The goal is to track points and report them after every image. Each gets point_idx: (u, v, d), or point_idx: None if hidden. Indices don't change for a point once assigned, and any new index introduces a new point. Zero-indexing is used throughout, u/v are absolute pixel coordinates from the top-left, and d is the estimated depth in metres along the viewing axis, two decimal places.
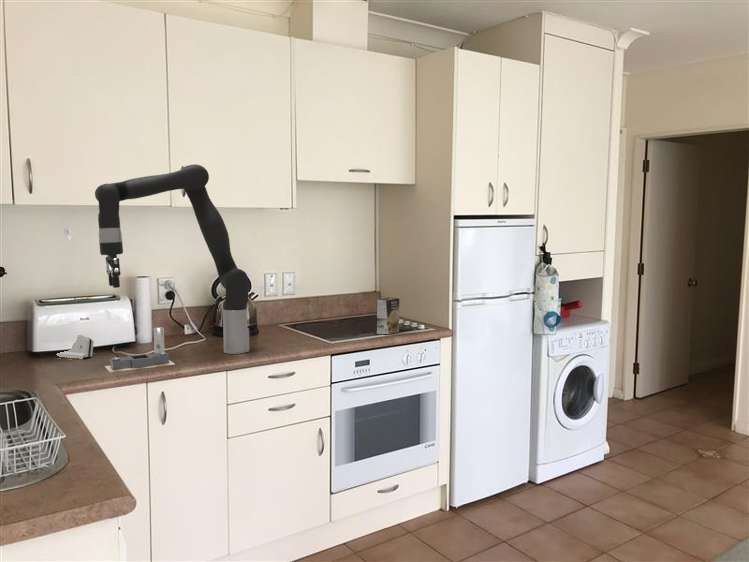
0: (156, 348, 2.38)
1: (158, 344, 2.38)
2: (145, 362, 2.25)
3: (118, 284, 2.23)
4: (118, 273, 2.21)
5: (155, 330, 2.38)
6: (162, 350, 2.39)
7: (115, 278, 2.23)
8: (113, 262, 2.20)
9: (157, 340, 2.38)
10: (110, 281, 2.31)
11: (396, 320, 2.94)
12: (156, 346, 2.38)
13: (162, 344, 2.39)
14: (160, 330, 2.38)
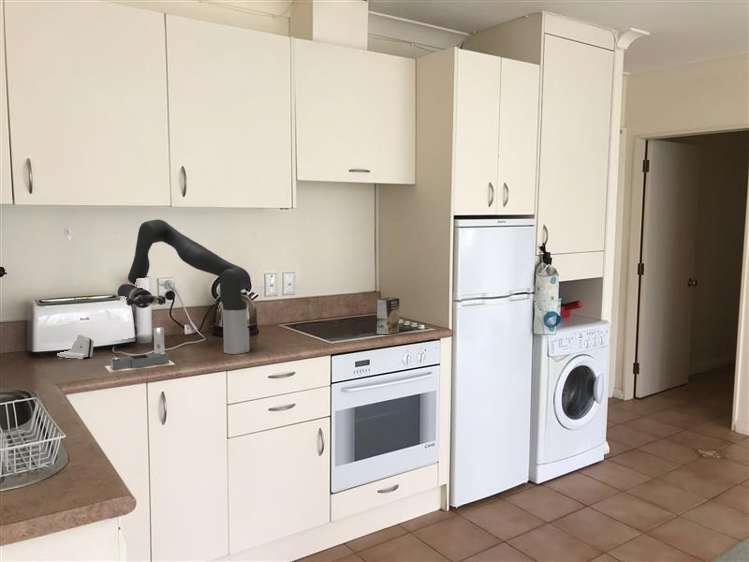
0: (156, 348, 2.38)
1: (158, 344, 2.38)
2: (145, 362, 2.25)
3: (135, 301, 2.45)
4: (128, 300, 2.48)
5: (155, 330, 2.38)
6: (162, 350, 2.39)
7: (134, 303, 2.47)
8: (126, 302, 2.51)
9: (157, 340, 2.38)
10: (159, 303, 2.51)
11: (396, 320, 2.94)
12: (156, 346, 2.38)
13: (162, 344, 2.39)
14: (160, 330, 2.38)
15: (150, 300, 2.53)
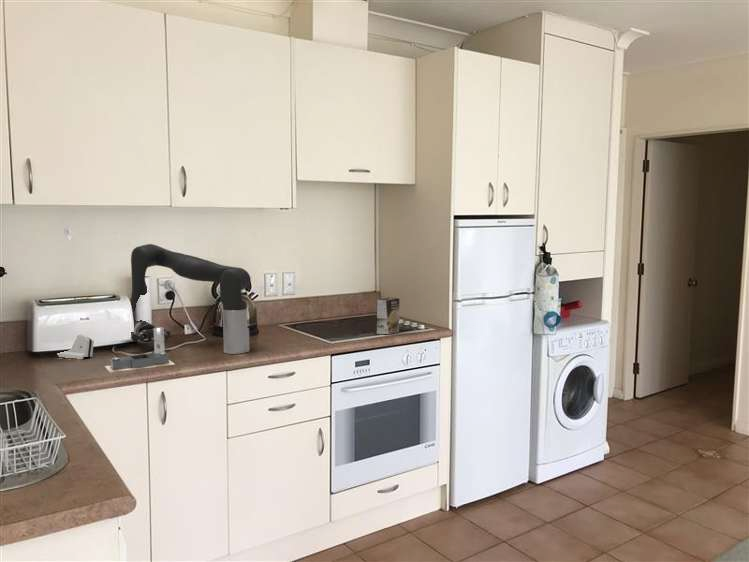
0: (156, 348, 2.38)
1: (158, 344, 2.38)
2: (145, 362, 2.25)
3: (139, 337, 2.43)
4: (132, 336, 2.46)
5: (155, 330, 2.38)
6: (162, 350, 2.39)
7: (138, 338, 2.45)
8: (131, 337, 2.49)
9: (157, 340, 2.38)
10: (164, 338, 2.49)
11: (396, 320, 2.94)
12: (156, 346, 2.38)
13: (162, 344, 2.39)
14: (160, 330, 2.38)
15: None
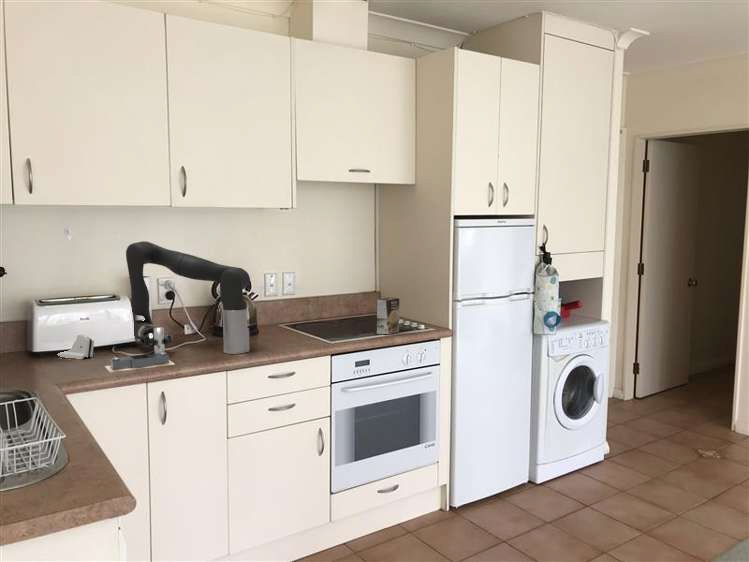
0: (156, 348, 2.38)
1: (158, 344, 2.38)
2: (145, 362, 2.25)
3: (151, 341, 2.37)
4: (144, 339, 2.39)
5: (155, 330, 2.38)
6: (162, 350, 2.39)
7: (150, 342, 2.38)
8: (138, 342, 2.41)
9: (157, 340, 2.38)
10: (164, 342, 2.40)
11: (396, 320, 2.94)
12: (156, 346, 2.38)
13: (162, 344, 2.39)
14: (160, 330, 2.38)
15: None
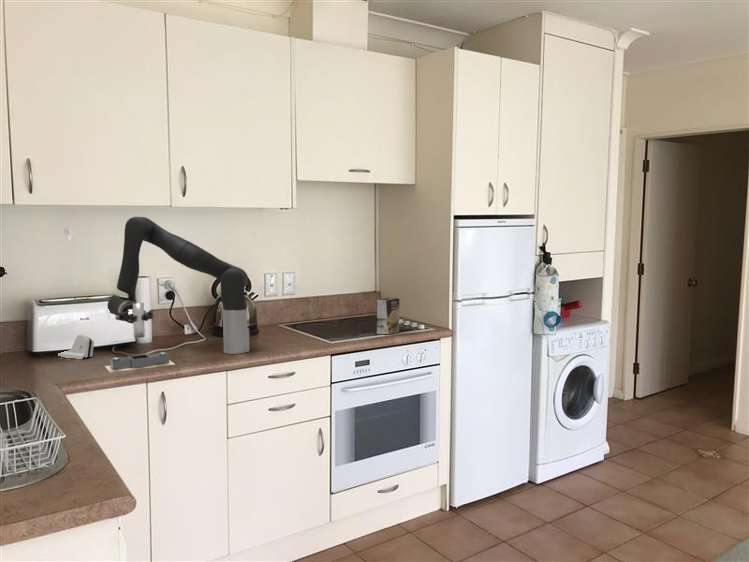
0: (135, 324, 2.26)
1: (137, 320, 2.25)
2: (145, 362, 2.25)
3: (130, 317, 2.24)
4: (123, 315, 2.26)
5: (134, 305, 2.25)
6: (142, 327, 2.26)
7: (129, 318, 2.26)
8: (117, 318, 2.29)
9: (136, 316, 2.25)
10: (144, 319, 2.27)
11: (396, 320, 2.94)
12: (135, 322, 2.26)
13: (142, 320, 2.26)
14: (139, 305, 2.25)
15: None
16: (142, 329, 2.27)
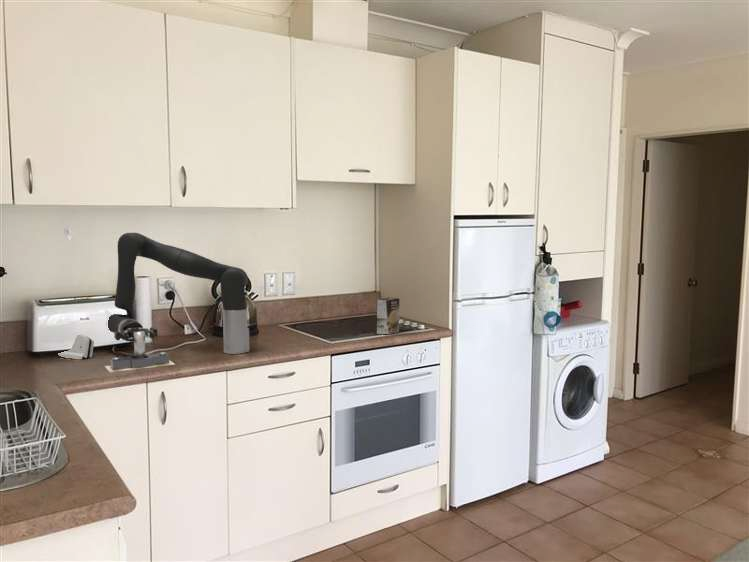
0: (136, 353, 2.26)
1: (138, 349, 2.26)
2: (145, 362, 2.25)
3: (123, 336, 2.23)
4: (116, 334, 2.26)
5: (135, 334, 2.25)
6: (143, 355, 2.27)
7: (122, 337, 2.25)
8: (114, 336, 2.29)
9: (137, 345, 2.25)
10: (150, 337, 2.29)
11: (396, 320, 2.94)
12: (136, 351, 2.26)
13: (143, 349, 2.26)
14: (140, 334, 2.25)
15: None
16: (143, 357, 2.27)
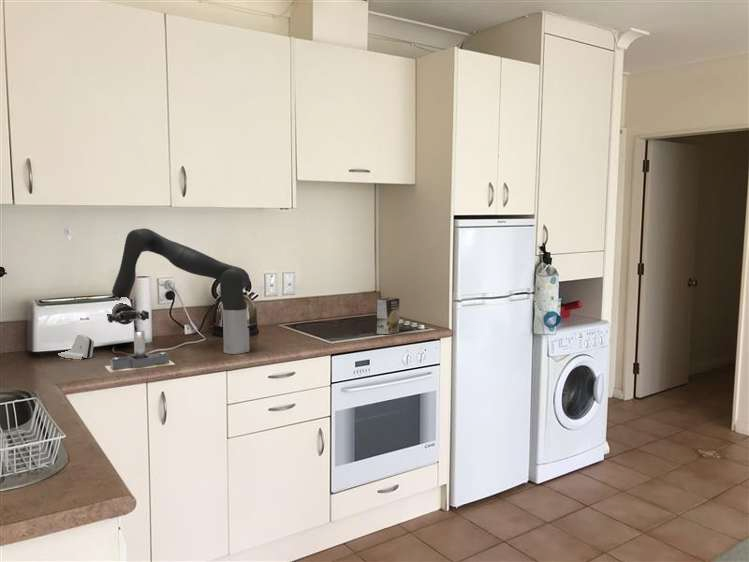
0: (136, 353, 2.26)
1: (138, 349, 2.26)
2: (145, 362, 2.25)
3: (116, 318, 2.34)
4: (109, 317, 2.37)
5: (135, 334, 2.25)
6: (143, 355, 2.27)
7: (115, 319, 2.36)
8: None
9: (137, 345, 2.25)
10: (142, 318, 2.40)
11: (396, 320, 2.94)
12: (136, 351, 2.26)
13: (143, 349, 2.27)
14: (140, 334, 2.25)
15: (132, 316, 2.42)
16: (143, 357, 2.27)
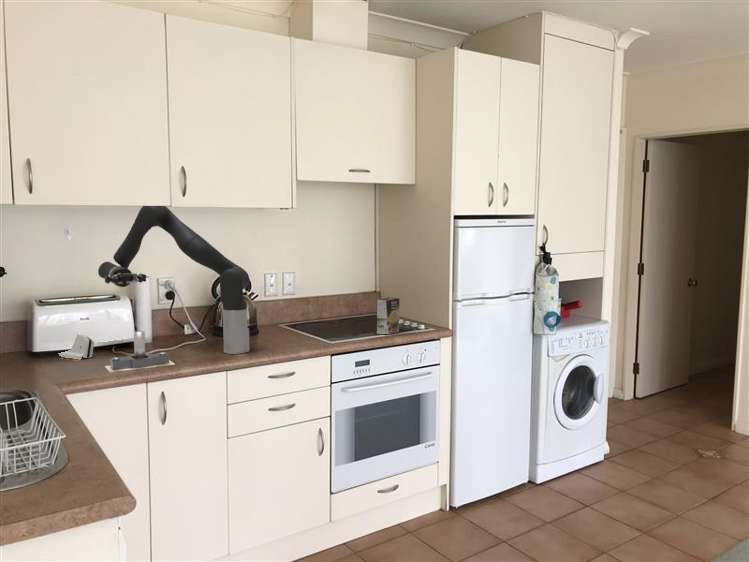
0: (136, 353, 2.26)
1: (138, 349, 2.26)
2: (145, 362, 2.25)
3: (113, 279, 2.34)
4: (106, 278, 2.36)
5: (135, 334, 2.25)
6: (143, 355, 2.27)
7: (112, 280, 2.36)
8: None
9: (137, 345, 2.26)
10: (139, 281, 2.39)
11: (396, 320, 2.94)
12: (136, 351, 2.26)
13: (143, 349, 2.27)
14: (140, 334, 2.26)
15: (130, 278, 2.42)
16: (143, 357, 2.27)
